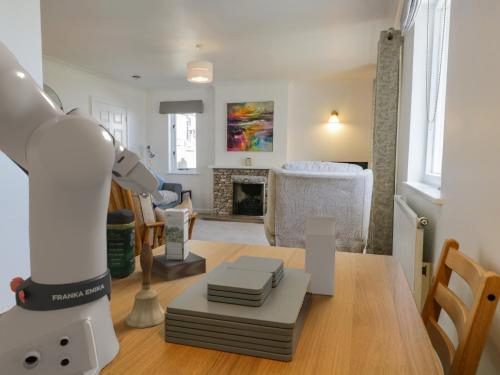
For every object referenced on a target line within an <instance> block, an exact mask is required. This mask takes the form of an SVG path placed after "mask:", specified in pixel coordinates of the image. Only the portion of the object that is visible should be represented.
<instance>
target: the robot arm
mask: <svg viewBox="0 0 500 375" xmlns="http://www.w3.org/2000/svg"><path fill="white" fill-rule="evenodd" d="M0 152H2V154H4V155H6V157H8V158H9V159H10V160H11V161H12V163H14V164H15V165H16V166H17V167H18V168H20V170H22V172H24V174H26V176H27V177H28V238H29V239H28V240H29V241H28V242H29V243H28V244H29V262H30V264H29V265H30V268H29V269H30V270H29V271H30V276H29V277H28V278H26V279H23V277H21V276H17V277H14V278H12V279H11V280H10V281H9V282H10V283H9V286H10V290H11V292H14V294H15V296H14V297H15V305H13V306H12V307H11V308H10V309H9V310H7V312H5V313H4V314H2V315H1V316H0V375H99V374H100V372H101V371H102V369H103V368H105V367H106V366H107V365H108V364H110V363H111V362H112V361H113V360H114V359H115V358H116V357H117V355H118V353H119V351H120V343H119V341H118V338H117V334H116V331H115V328H114V323H113V319H112V312H111V305H110V301H112V300H111V297H112V296H111V295H112V278H111V275H110V269H109V268H107V240H106V222H107V213H108V212H109V211H108V210H109V205H110V204H109V203H110V197H111V196H110V195H111V189H112V188H111V187H112V185H111V184H112V180H114V182H116V183H117V184H118V185H119V186H120V187H121V188H123V189H124V190H128V191H132V192H134V193H136V194H137V195H138V196H139V197H141V198H142V199H144V200H145V199H147V198H148V197H149V196H150V195H151V196H152V198H153V199H154V200H155V201H156V202H162V201H163V199H164V195H163V194H162V193H161V192H160V191H159V189H158V187H159V186H160V181H159V179H158V178H157V177H156V176H155V174H154V173H153V172H152V170H150V168H148V167H147V166H146V164H144V162H142V161H141V160H142V158H141V157H140V156H139V154H138V153H136V152H133V151H131V150H129V149H128V148H127V147H125V146H124V144H122V143H121V142H120V141H119V140H117V139H116V138H115V137H114V135H113V134H112V133H111V132H110V131H109V130H108V129H107V128H106V127H105V125H104V124H102V123H101V122H100V121H99V120H98V119H96V118H95V117H94V116H93V115H91V114H90V113H89V112H88V111H87V110H85V109H84V108H82V107H76V108H73V109H71V110H70V111H68V112H67V113H65V112H64V110H63V109H62V108H61V107H59V105H58V104H57V103H56V102H55V101H54V100H53V99H52V98H51V97H50V96H49V95H48V94H47V93H46V91H45V90H44V89H43V88H42V87H41V86H40V84H38V83H37V81H36V80H35V79H34V77H33V76H32V74H30V73H29V72H28V71H27V70H26V69H25V68H24V67H23V66H22V65H21V64H20V62H19V60H18V58H17V57H16V55H15V54H14V53H13V52H12V51H11V50H10V49H9V48H8V46H6V45H5V44H4V43H3V42H2V41H1V40H0Z"/></svg>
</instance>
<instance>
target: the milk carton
mask: <svg viewBox="0 0 500 375" xmlns="http://www.w3.org/2000/svg"><path fill="white" fill-rule="evenodd" d="M336 239H337V238H336V216H332V215H329V216H328V215H307V214H306V224H305V240H304V241H305V245H304V246H305V249H304V250H305V251H304V274H305V273H309V274H312V279H311V291H312V295H314V294H315V295H323V296H324V295H326V296H334V295H335V274H336V272H335V269H336V266H335V264H336Z"/></svg>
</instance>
